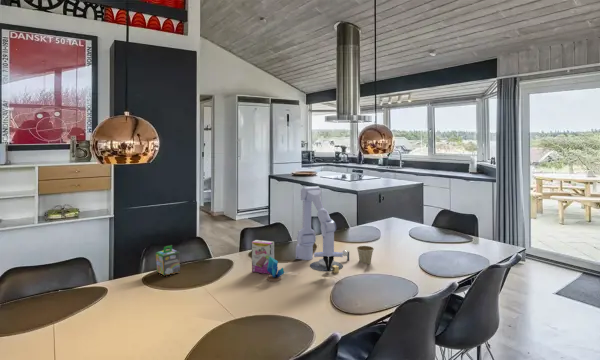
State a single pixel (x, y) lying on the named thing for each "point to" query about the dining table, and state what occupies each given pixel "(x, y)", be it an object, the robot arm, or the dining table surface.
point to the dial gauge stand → (346, 254)
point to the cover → (322, 263)
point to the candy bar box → (261, 255)
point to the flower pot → (365, 254)
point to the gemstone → (274, 270)
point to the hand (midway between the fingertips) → (328, 270)
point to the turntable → (334, 268)
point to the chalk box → (167, 261)
